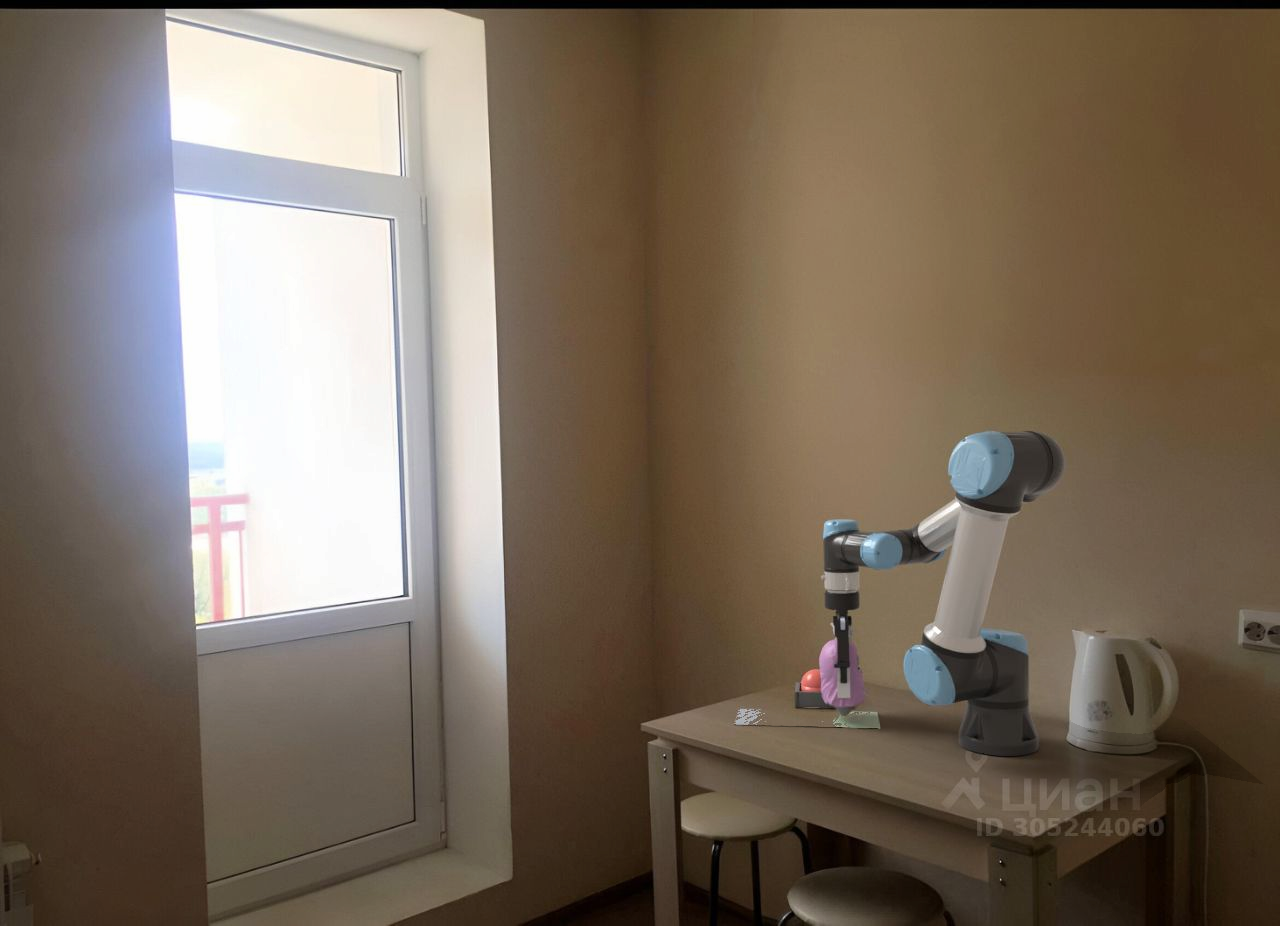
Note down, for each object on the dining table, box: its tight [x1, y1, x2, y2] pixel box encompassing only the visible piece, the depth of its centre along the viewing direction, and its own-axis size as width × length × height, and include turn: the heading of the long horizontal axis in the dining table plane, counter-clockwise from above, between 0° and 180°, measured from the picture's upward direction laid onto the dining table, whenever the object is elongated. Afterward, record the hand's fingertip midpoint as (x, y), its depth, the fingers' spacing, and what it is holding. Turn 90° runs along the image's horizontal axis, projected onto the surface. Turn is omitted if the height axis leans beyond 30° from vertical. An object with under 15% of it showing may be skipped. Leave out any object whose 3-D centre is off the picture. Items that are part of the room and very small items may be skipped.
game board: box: [733, 708, 881, 730], centre depth 233 cm, size 13×31×1 cm, turn 80°
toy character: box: [818, 622, 868, 716], centre depth 231 cm, size 12×10×20 cm
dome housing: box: [794, 681, 835, 708], centre depth 246 cm, size 10×10×4 cm
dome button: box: [800, 668, 821, 692], centre depth 246 cm, size 7×7×7 cm
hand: (843, 691), depth 231 cm, fingers closed on toy character, 10 cm apart
